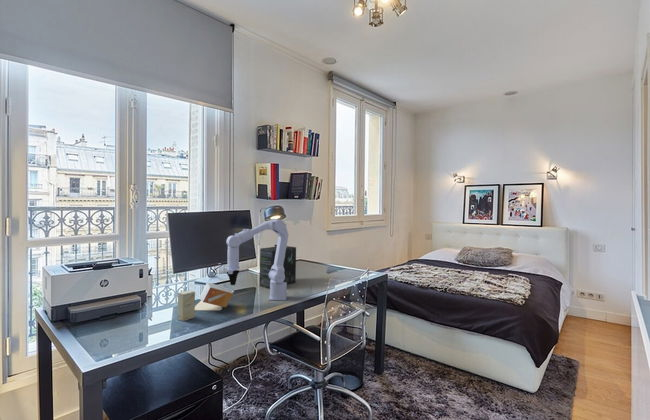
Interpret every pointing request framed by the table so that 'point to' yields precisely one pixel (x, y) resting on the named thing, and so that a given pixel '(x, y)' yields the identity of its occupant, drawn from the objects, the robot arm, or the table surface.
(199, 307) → the mat
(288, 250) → the headset box
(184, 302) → the skincare box
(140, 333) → the table surface
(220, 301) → the small box
